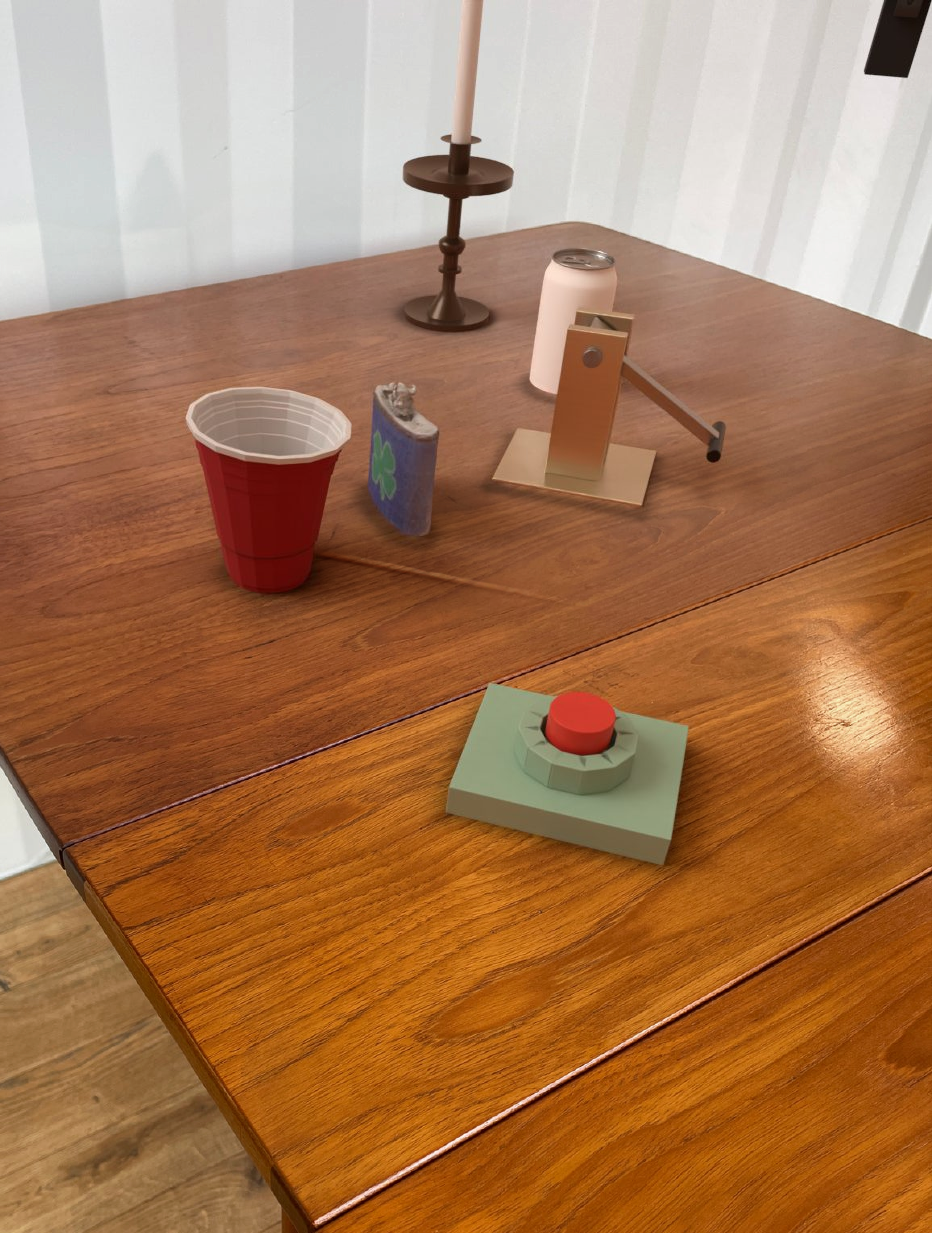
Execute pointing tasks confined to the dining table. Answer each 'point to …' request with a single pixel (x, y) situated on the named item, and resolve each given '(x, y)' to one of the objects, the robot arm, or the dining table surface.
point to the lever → (672, 405)
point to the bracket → (584, 422)
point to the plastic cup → (267, 478)
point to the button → (580, 723)
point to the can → (568, 306)
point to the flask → (402, 459)
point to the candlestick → (456, 189)
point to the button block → (570, 778)
